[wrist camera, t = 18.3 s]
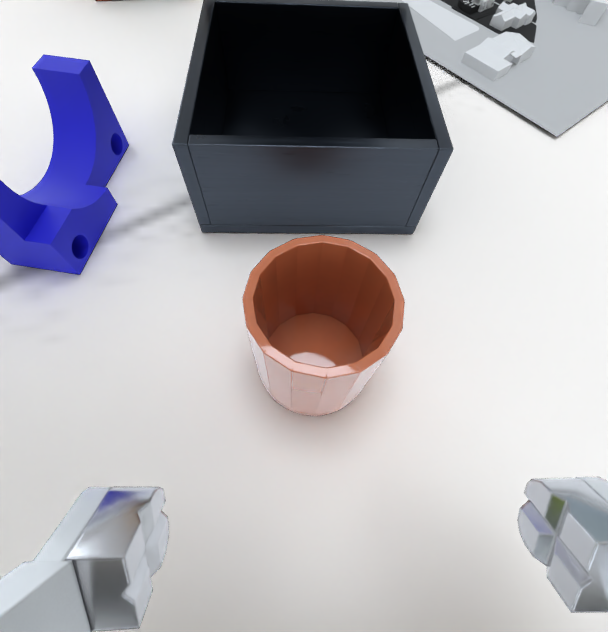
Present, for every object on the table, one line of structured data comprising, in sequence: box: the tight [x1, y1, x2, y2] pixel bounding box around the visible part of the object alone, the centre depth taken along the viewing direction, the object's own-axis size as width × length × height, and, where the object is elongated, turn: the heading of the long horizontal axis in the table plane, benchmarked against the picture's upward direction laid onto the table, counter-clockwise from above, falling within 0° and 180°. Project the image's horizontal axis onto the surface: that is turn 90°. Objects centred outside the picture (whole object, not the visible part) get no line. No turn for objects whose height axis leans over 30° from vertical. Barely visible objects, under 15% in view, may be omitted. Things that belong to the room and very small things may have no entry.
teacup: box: [243, 235, 405, 416], centre depth 17 cm, size 6×6×7 cm
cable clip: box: [0, 55, 129, 275], centre depth 22 cm, size 12×4×6 cm, turn 171°
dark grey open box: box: [172, 0, 453, 234], centre depth 24 cm, size 16×15×7 cm
